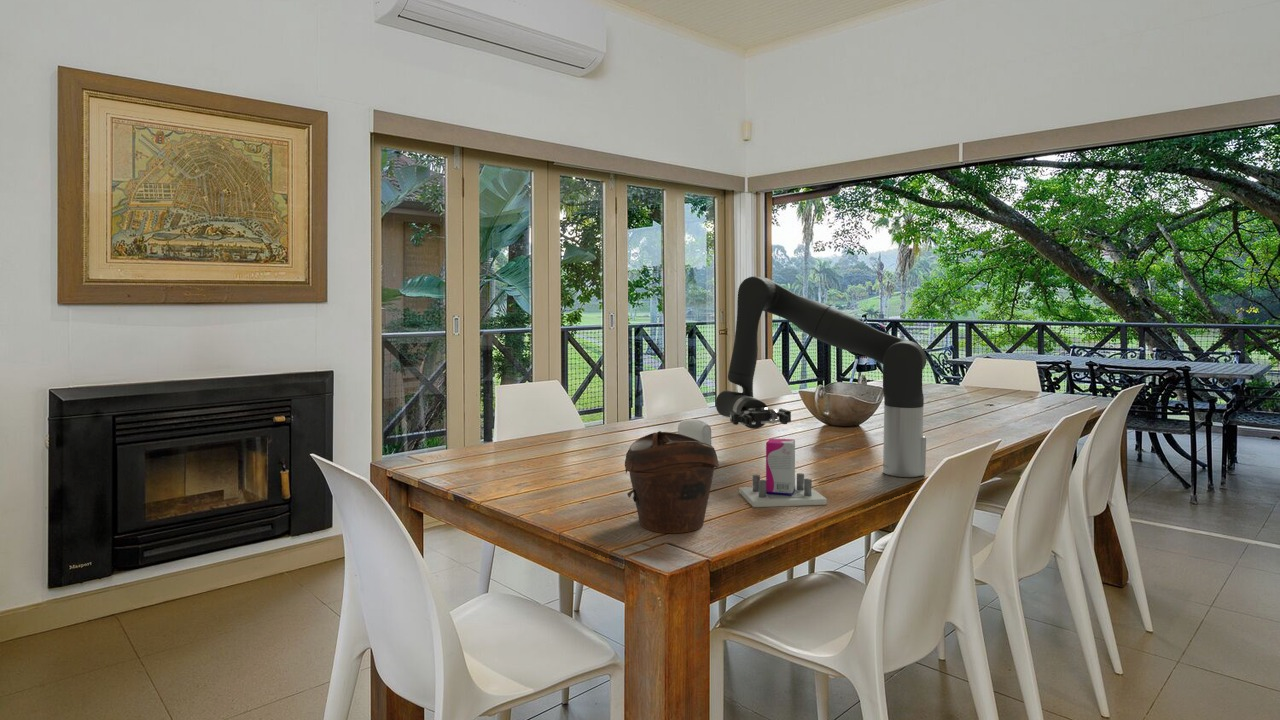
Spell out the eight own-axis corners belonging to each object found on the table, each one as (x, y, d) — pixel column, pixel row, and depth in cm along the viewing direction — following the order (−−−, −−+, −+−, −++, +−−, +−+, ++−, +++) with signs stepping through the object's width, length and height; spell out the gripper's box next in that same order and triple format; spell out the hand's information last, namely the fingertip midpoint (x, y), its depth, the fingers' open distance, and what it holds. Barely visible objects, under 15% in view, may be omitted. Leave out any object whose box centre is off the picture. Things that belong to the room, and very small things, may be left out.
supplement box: (795, 489, 161) (795, 438, 160) (792, 496, 155) (792, 443, 154) (769, 487, 163) (769, 437, 162) (765, 494, 157) (765, 442, 156)
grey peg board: (807, 490, 166) (808, 470, 165) (826, 504, 154) (827, 482, 154) (739, 492, 164) (739, 472, 164) (753, 507, 152) (753, 485, 152)
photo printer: (675, 463, 195) (675, 418, 194) (687, 461, 198) (687, 416, 197) (702, 470, 187) (702, 422, 186) (714, 467, 190) (714, 421, 189)
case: (658, 504, 155) (657, 421, 153) (738, 521, 142) (738, 431, 140) (601, 525, 141) (600, 434, 139) (685, 547, 128) (684, 447, 127)
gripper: (722, 398, 185) (738, 406, 169) (776, 396, 186) (797, 403, 170) (723, 427, 185) (739, 438, 169) (777, 425, 187) (797, 435, 171)
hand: (768, 420), depth 170 cm, fingers open, 8 cm apart
